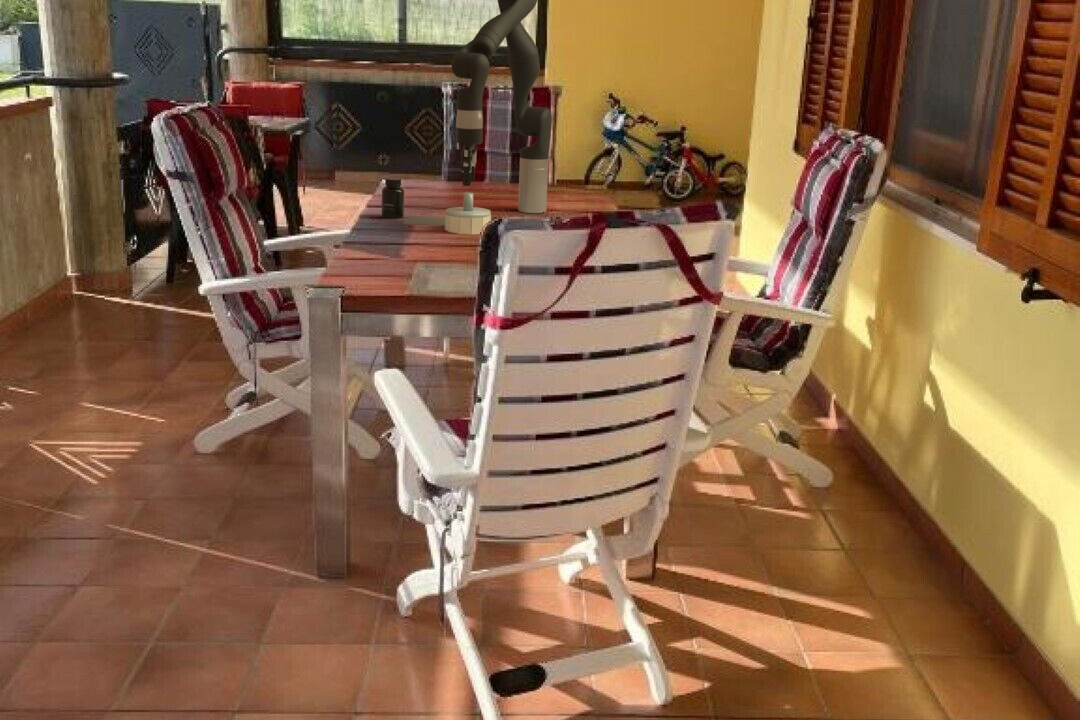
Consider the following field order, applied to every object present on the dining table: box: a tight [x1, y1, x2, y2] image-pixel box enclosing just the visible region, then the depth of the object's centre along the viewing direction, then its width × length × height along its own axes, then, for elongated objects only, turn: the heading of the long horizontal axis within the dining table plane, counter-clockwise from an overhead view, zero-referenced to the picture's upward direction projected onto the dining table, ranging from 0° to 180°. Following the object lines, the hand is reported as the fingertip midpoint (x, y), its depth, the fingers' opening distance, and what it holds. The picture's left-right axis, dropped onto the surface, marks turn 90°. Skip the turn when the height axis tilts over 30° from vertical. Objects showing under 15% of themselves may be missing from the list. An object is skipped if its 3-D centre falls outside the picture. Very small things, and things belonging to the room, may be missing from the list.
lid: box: [445, 192, 492, 218], centre depth 304 cm, size 13×13×6 cm
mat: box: [402, 215, 445, 227], centre depth 318 cm, size 14×14×1 cm
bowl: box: [444, 212, 492, 235], centre depth 306 cm, size 13×13×5 cm
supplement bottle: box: [381, 177, 405, 220], centre depth 320 cm, size 7×7×12 cm
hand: (468, 183), depth 303 cm, fingers open, 8 cm apart
